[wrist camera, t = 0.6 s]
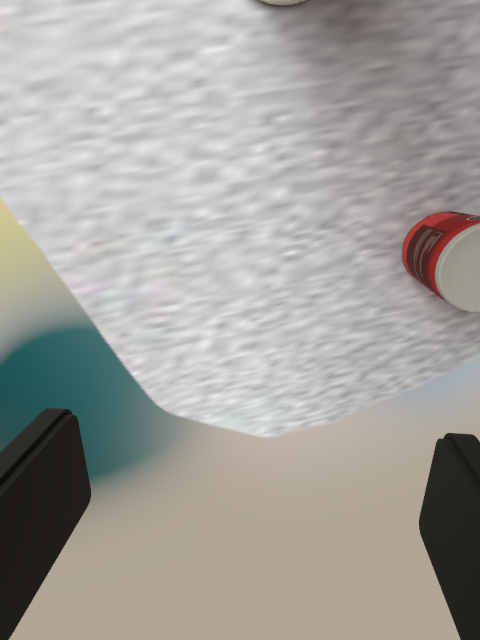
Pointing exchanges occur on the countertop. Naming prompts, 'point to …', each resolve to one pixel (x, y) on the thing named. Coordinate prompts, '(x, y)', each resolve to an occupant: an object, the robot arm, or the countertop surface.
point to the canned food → (447, 257)
